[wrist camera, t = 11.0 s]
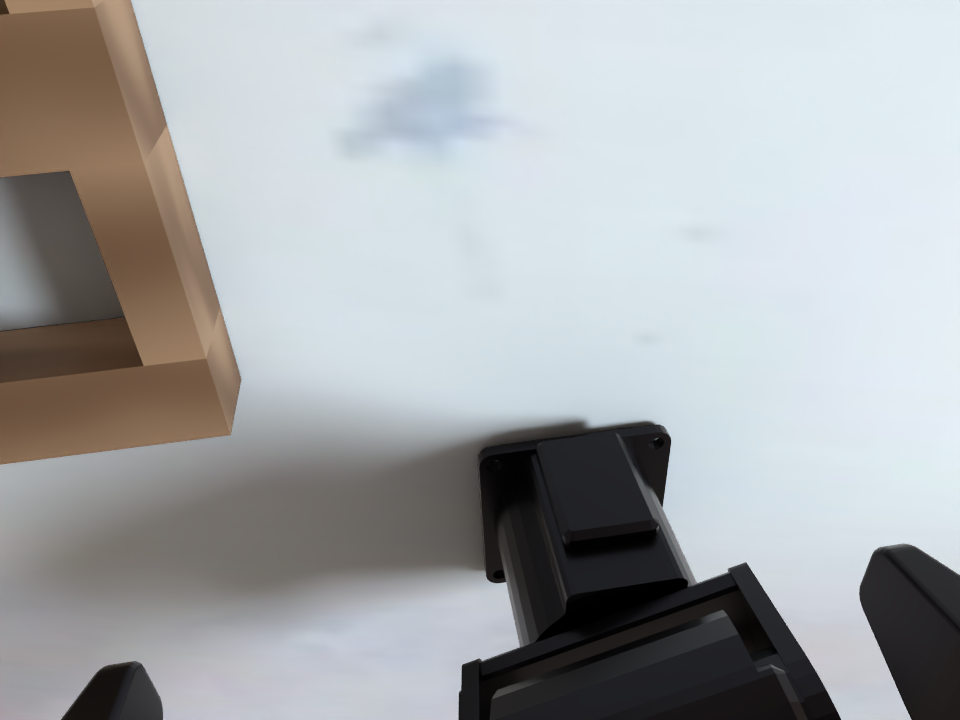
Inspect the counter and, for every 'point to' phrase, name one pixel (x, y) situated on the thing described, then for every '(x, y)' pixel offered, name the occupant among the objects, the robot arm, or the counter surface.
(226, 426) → the rack
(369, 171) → the counter surface
